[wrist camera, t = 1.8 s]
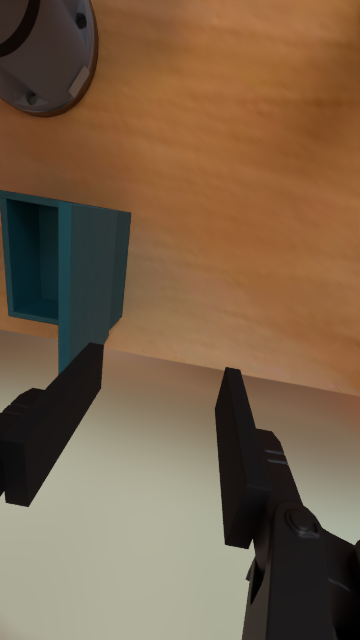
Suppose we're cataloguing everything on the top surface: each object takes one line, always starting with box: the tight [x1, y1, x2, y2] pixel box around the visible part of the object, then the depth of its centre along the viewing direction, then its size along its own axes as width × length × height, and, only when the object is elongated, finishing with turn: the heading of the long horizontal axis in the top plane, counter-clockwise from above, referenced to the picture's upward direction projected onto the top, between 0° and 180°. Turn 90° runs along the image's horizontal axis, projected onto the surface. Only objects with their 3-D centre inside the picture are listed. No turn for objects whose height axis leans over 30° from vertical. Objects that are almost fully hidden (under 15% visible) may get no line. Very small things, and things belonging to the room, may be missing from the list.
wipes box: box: [0, 190, 131, 330], centre depth 36 cm, size 14×16×7 cm
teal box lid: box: [58, 202, 118, 374], centre depth 25 cm, size 14×16×1 cm
